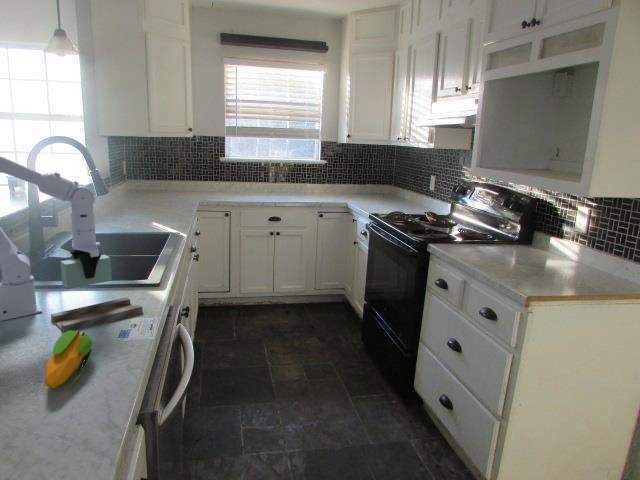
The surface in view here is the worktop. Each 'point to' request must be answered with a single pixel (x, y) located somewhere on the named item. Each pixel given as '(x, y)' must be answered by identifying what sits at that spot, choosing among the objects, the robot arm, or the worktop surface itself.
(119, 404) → the worktop surface
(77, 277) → the green block
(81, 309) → the track
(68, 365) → the corn
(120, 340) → the worktop surface
